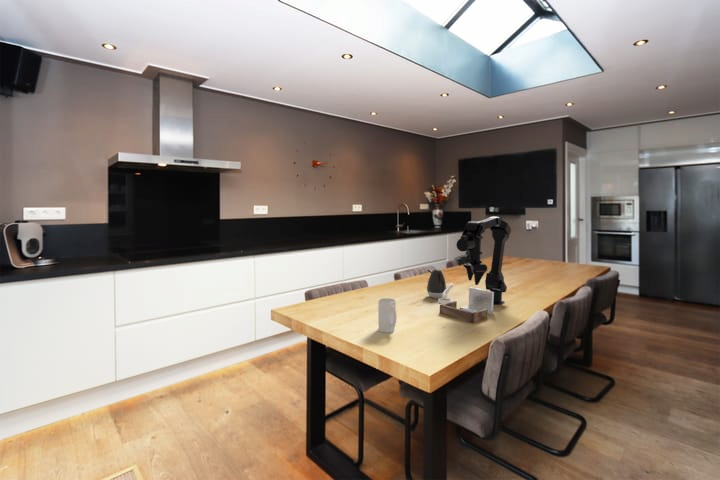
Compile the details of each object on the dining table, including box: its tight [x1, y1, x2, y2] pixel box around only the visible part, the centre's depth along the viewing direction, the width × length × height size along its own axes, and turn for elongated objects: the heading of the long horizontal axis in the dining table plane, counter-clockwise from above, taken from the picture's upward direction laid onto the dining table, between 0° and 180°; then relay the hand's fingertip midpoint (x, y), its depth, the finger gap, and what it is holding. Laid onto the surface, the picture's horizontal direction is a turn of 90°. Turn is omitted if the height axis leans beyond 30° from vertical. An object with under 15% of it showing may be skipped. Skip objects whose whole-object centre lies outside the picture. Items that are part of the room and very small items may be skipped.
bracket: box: [459, 286, 494, 315], centre depth 171 cm, size 8×12×10 cm
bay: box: [439, 300, 488, 324], centre depth 165 cm, size 11×17×4 cm, turn 39°
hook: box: [437, 282, 455, 305], centre depth 186 cm, size 8×12×7 cm
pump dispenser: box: [426, 268, 447, 300], centre depth 196 cm, size 10×10×15 cm
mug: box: [377, 297, 398, 334], centre depth 144 cm, size 10×7×12 cm, turn 27°
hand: (473, 282), depth 171 cm, fingers open, 9 cm apart
